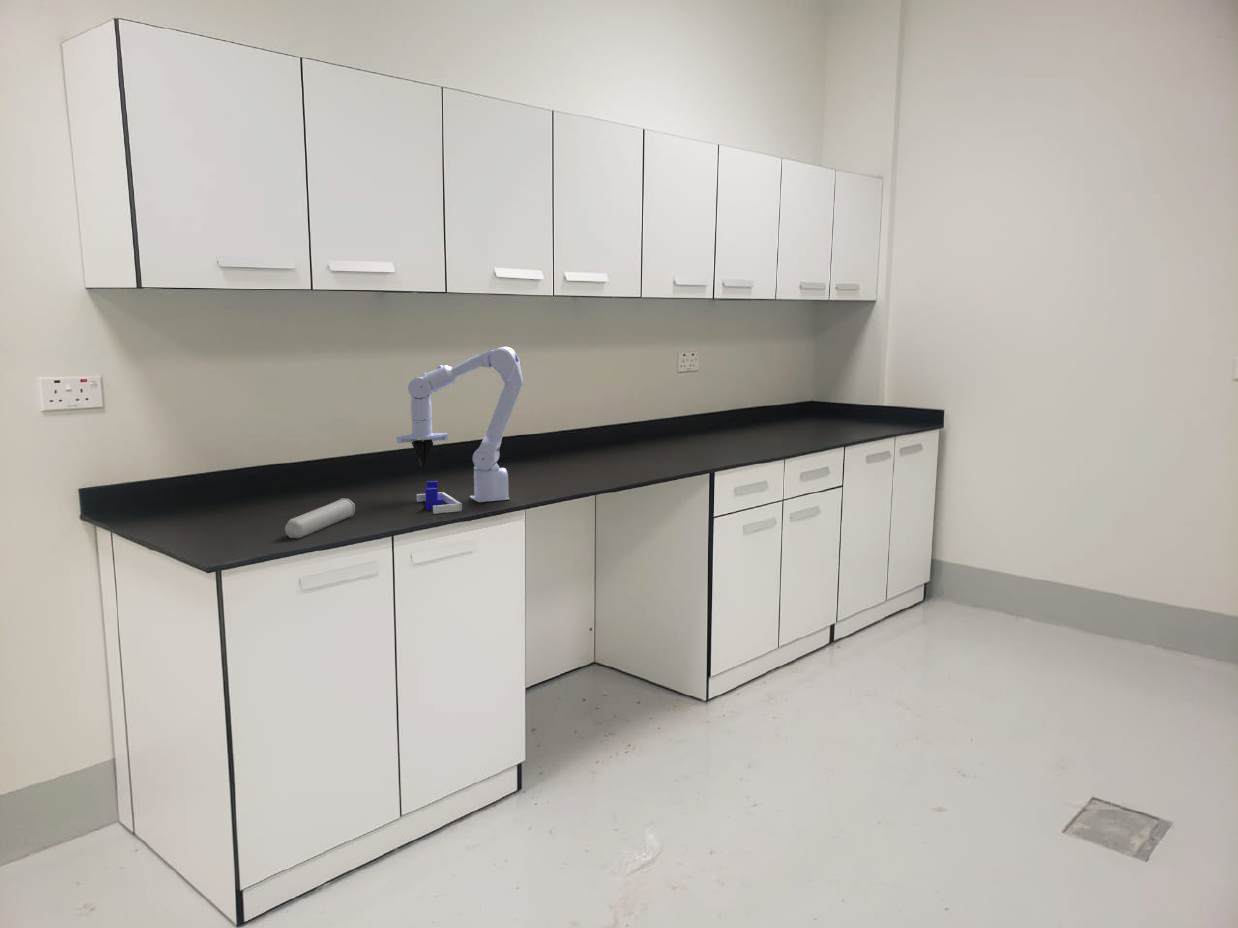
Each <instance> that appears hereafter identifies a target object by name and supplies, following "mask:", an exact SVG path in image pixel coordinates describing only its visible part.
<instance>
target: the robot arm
mask: <svg viewBox="0 0 1238 928" xmlns="http://www.w3.org/2000/svg"><path fill="white" fill-rule="evenodd" d="M520 362H521V360H520V358H519V356H518V354H517V353H516V351H515V350H514V349H513V348H511V347H509V346H502V347H498V348H495V349H492V350H488V351H485V352H480V353H478V354H476V355H474V356H472V357H470V358H468V359H466V360H463V361H462V362H460V363H458V364H457V365H454V366H450V365H447V364H445V365H442V364H440V365H437V366H436V369H434V370H431V371H429V372H423V373H421V376H420V377H415V378H414V377H413V379H412V380H411V381H410V382H409V383H408V386H407V390H408V393H409V395H410V416H411V417H410V418H411V434H402V435H395V439H396V440H395V441H396V444H402V443H411V445H412V447H413V449H414V451H415V453H416V456H417V459H418V463H419V467H421V468H427V466H428V464H427V463H428V460H429V455H430V453H431V452H432V449H433V447H434V441H435V442H436V441H449V434H448V432H447V433H446V432H433V420H432V419H433V414H432V413H433V412H432V409H433V408H432V398H431V397H432V396H431V395H432V394H433V393H436V392H439V391H441V390H443V389H445V388H447V387H449V386H451V385H454V384H455V383H456V381H457V378H458V377H460V376H463V375H464V374H465V375H466V374H467V373H470V372H472V371H474V370H477V369H479V368H488V369H489V368H493V369H494V370H495V371H496V372H497V373H498V374H499V376H500V377H501V379H502V381H503V385H504V386H503V388H502V391H501V394H500V395H499V398H498V401H497V403H496V407H495V409H494V410H493V411H494V412H493V414H492V417H491V419H490V423H489V425H488V426H487V430H486V433H485V435H484V436H483V439H482V441H481V443H480V445H479V447H478V448H477V449H476V450H475V451H474V453H473V454H472V463H473V465H474V467H473V479H474V480H473V483H474V487H473V489H474V490H473V491H474V495H470V496H469V498H470V499H472V500H473V501H475V502H478V503H483V502H484V503H485V502H495V501H497V502H498V501H506V500H510V497H509V474H508V471H507V468H505V467H500V465H499V464H498V463H497V462H498V461H499V459H500V457H501V456H500V448H501V444H502V439H503V437H504V435H505V431H506V429H507V427H508V424H509V421H510V418H511V416H512V412H513V410H514V408H515V406H516V403H517V400H518V398H519V395H520V393H521V389H522V387H523V385H524V384H523V383H524V377H523V372H522V367H521V363H520Z"/></svg>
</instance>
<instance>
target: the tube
mask: <svg viewBox="0 0 1238 928" xmlns="http://www.w3.org/2000/svg"><path fill="white" fill-rule="evenodd" d="M355 506H356V505H355V502H353V501H352V500H351V499H349V498H343V497H342V498H341V497H340V498H339V500H336V501H334V502H330V503H329V504H327V505H324V506H320V507H319V508H316V509H313V510H311V511H308V512H306V513H303V514H301V515H299V516H296V517H295V516H294V517H293V518H290V519H289V520H288V521H287V523H286V524H285V527H284V531H285V534H286V535H287V536H288V537H289V538H290V539H302V538H304V537H306V536H308V535H310V534H313V533H315V532H317V531H320V530H323V529H325V528H328V527H329V526H332V525H335V524H337V523H339V522H341V521H344V520H346V519H348V518H352V517H353V516H354V514H355V512H356V510H355V509H356V507H355Z"/></svg>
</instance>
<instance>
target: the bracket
mask: <svg viewBox="0 0 1238 928" xmlns="http://www.w3.org/2000/svg"><path fill="white" fill-rule="evenodd" d="M438 498H443V503H446V504H443V505H437V506H433V510H432V514H434V515H435V514H446V513H456V512H462V511H463V503H461V502H460V501H459V500H456V499H455V498H454V497H452V496H451V495H448V494H447V493H445V492H444V491H442V492H441V491H440V492H439V491H438ZM416 502H417V503H419V502H421V503H422V502H426V493H417V494H416Z"/></svg>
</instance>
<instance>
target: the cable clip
mask: <svg viewBox="0 0 1238 928" xmlns="http://www.w3.org/2000/svg"><path fill="white" fill-rule="evenodd" d="M438 493H439V488H438V480H426V487H425V494H426V501H425V510H426V511H433V506H437V505H444V501H443V498H438Z"/></svg>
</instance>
